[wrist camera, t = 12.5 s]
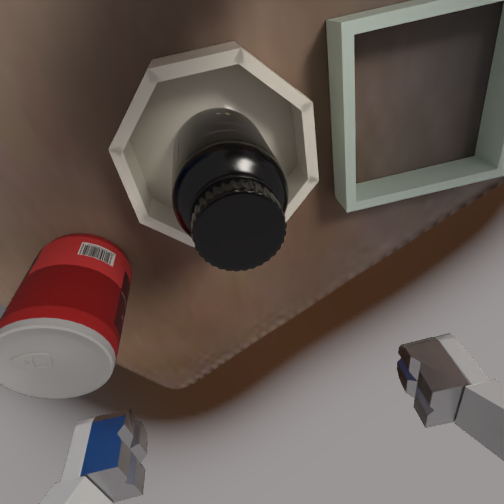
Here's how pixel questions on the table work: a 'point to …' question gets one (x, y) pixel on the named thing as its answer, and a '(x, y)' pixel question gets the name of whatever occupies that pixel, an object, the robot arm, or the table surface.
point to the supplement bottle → (228, 190)
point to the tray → (343, 112)
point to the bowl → (201, 98)
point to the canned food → (66, 319)
